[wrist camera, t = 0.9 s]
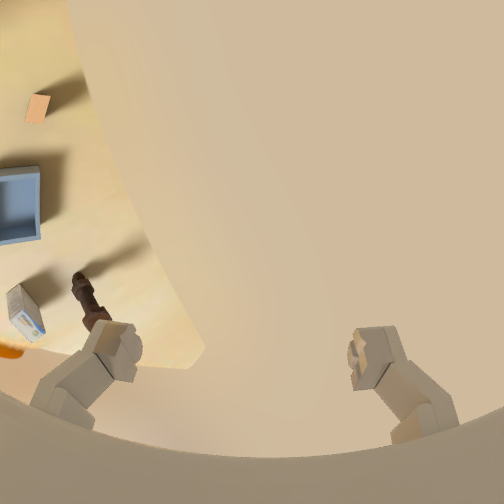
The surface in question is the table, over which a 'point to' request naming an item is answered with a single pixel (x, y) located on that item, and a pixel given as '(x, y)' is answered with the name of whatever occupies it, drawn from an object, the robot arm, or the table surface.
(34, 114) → the block
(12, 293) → the medicine box
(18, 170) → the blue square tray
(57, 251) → the table surface
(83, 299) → the bolt
